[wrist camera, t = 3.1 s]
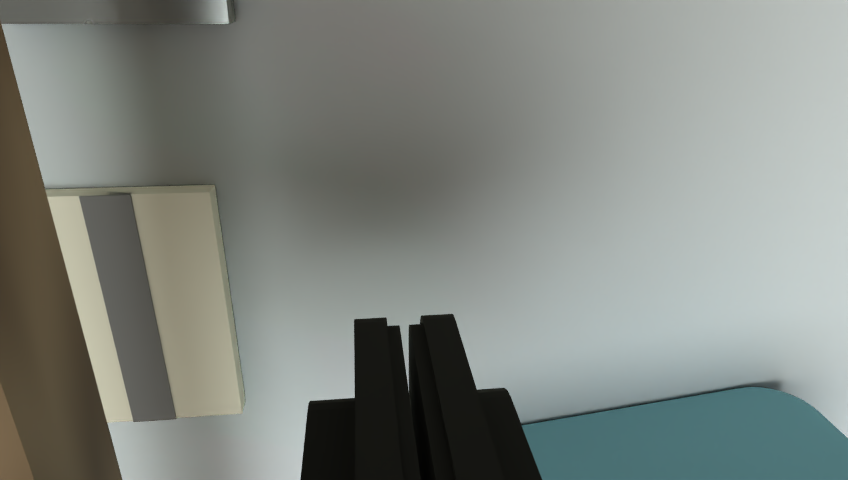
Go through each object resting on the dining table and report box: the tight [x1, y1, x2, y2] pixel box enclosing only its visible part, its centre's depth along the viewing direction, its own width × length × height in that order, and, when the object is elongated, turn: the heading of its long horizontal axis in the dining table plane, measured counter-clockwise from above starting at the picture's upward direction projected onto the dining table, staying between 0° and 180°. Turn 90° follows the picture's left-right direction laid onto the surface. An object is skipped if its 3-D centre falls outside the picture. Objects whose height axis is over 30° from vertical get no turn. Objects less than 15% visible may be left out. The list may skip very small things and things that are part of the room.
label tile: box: [45, 185, 245, 423], centre depth 16 cm, size 7×5×1 cm
